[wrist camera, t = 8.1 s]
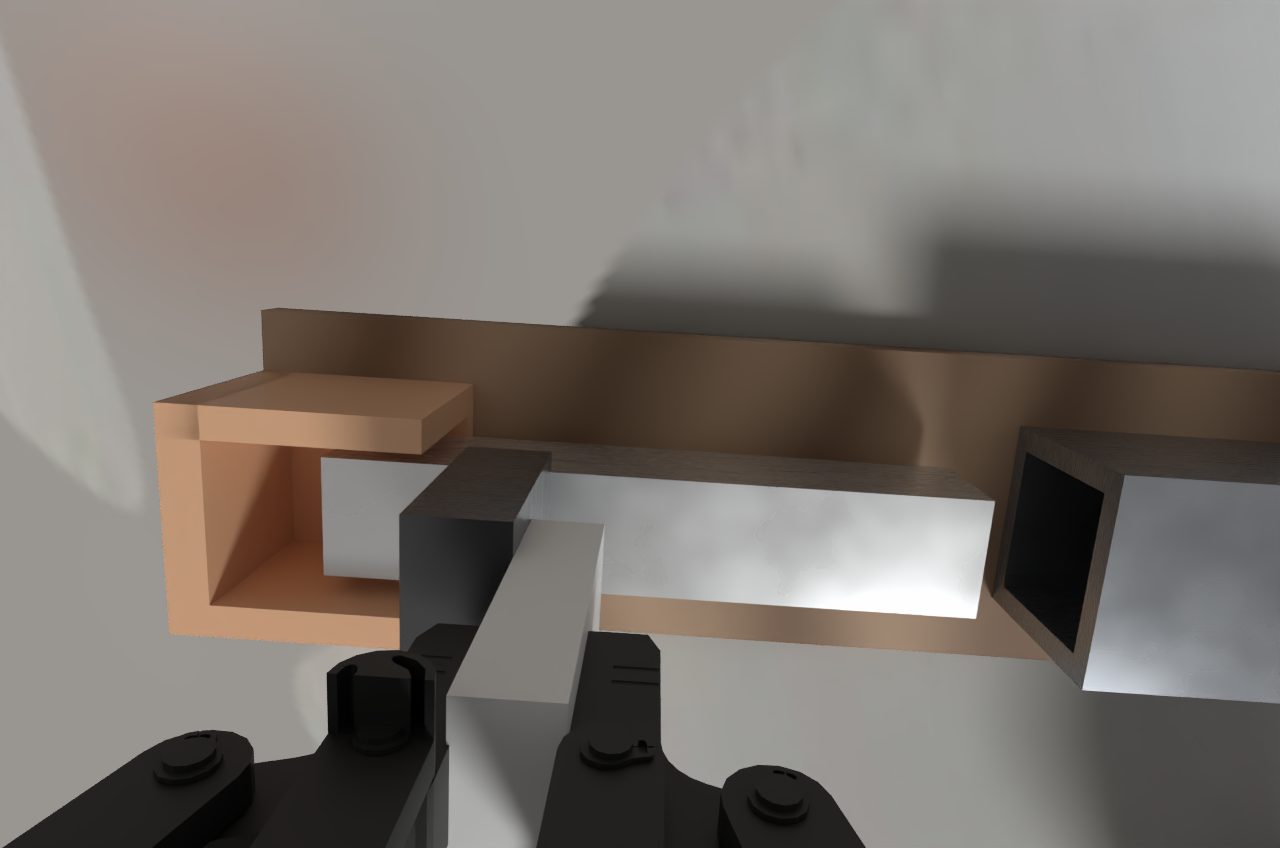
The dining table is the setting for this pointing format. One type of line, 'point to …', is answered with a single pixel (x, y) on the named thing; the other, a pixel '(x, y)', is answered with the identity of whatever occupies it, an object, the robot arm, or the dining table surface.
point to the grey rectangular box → (1147, 561)
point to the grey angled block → (656, 526)
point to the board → (783, 425)
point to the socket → (281, 500)
